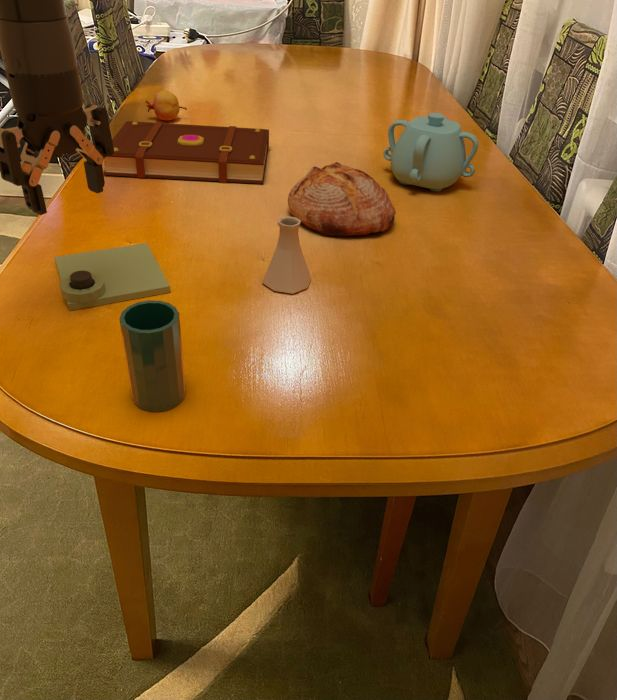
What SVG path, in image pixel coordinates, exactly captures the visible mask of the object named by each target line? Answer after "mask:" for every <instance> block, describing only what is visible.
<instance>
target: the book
mask: <svg viewBox="0 0 617 700" xmlns="http://www.w3.org/2000/svg"><path fill="white" fill-rule="evenodd" d="M112 142H113V147H114V153H113V155H111V156H109V155H108V156H106V157H105V158H104V160H103V163H104V164H103V166H104V170H103V174H104V176H115V177H132V178H133V177H134V178H137V179H146V178H150V179H151V178H152V179H153V178H154V179H169V180H170V179H172V180H187V181H188V180H190V181H207V182H208V181H209V182H219V183H221V184H227V183H242V184H243V183H245V184H259V185H260V184H264V182H265V174H266V168H267V161H268V155H269V154H268V153H269V147H270V129H267V128H256V127H255V128H254V127H237V126H236V125H229V126H217V125H204V124H203V125H201V124H200V125H199V124H185V123H184V124H183V123H169V122H168V123H167V122H163V121H155V122H151V121H150V122H149V121H148V122H147V121H131V120H127V121H125V123H124V124H123V125H122V126H121V128H120V129H119V130H118V132H117V133H116V134H115V135H114V137H112Z"/></svg>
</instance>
